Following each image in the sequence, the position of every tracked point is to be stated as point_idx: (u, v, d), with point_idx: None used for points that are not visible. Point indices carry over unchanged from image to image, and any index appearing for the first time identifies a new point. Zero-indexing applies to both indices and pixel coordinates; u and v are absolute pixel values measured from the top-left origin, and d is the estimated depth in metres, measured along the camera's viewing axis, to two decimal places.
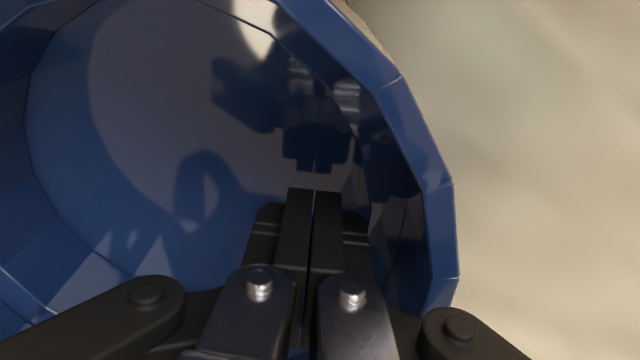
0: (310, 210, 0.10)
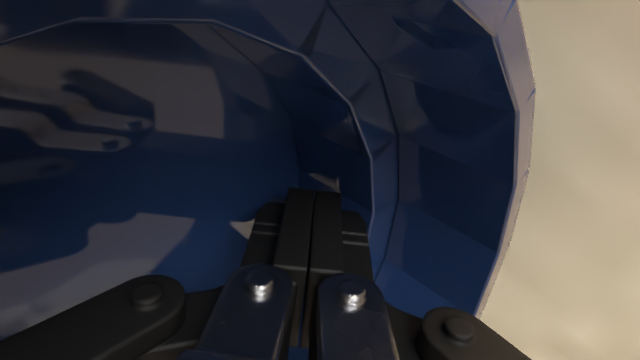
0: (310, 210, 0.10)
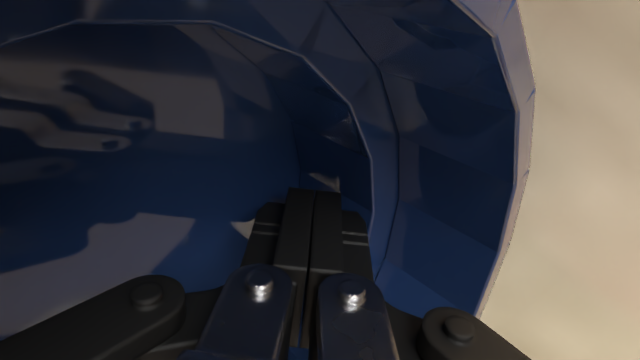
0: (310, 210, 0.10)
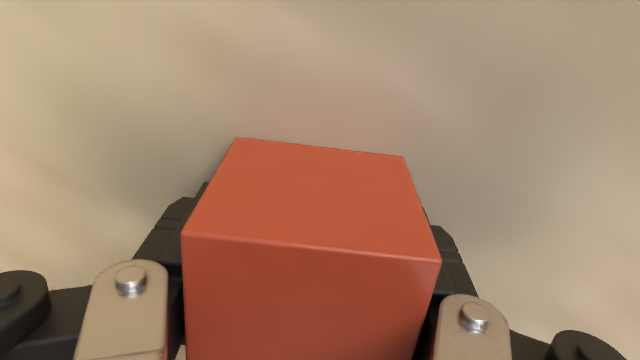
0: None
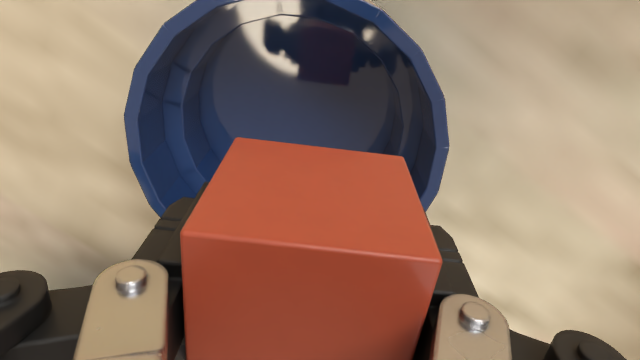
0: None
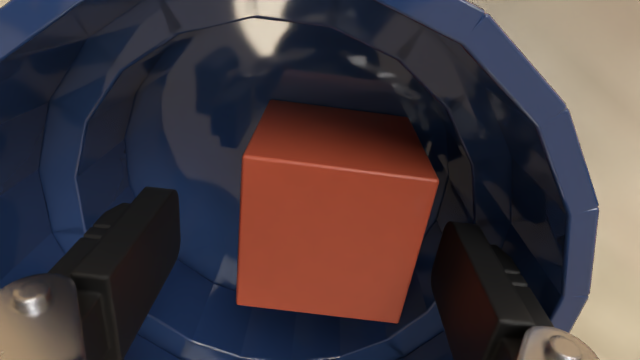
0: (154, 212, 0.09)
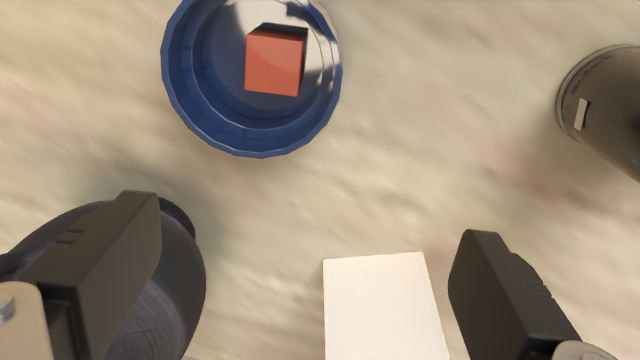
0: (130, 216, 0.09)
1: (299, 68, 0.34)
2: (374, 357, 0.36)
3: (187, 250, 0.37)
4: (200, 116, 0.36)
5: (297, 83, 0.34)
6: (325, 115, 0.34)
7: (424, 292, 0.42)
